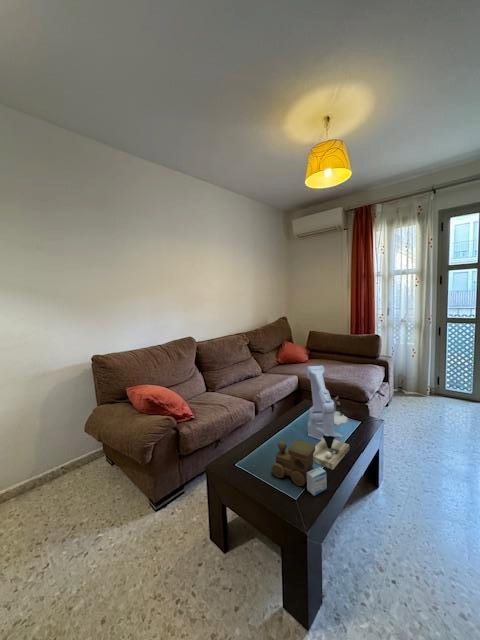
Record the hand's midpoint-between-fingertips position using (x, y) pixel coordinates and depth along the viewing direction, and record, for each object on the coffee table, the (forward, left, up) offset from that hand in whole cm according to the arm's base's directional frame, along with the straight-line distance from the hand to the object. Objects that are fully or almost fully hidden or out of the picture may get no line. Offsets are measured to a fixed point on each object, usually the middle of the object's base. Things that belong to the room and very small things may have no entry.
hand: (329, 447), depth 139 cm
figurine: (-17, +42, -4) cm, 45 cm away
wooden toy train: (-7, -27, -4) cm, 28 cm away
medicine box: (+6, -28, -4) cm, 29 cm away
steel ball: (+2, 0, -2) cm, 3 cm away
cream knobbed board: (-1, 0, -4) cm, 4 cm away
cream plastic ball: (+2, -7, +1) cm, 7 cm away
